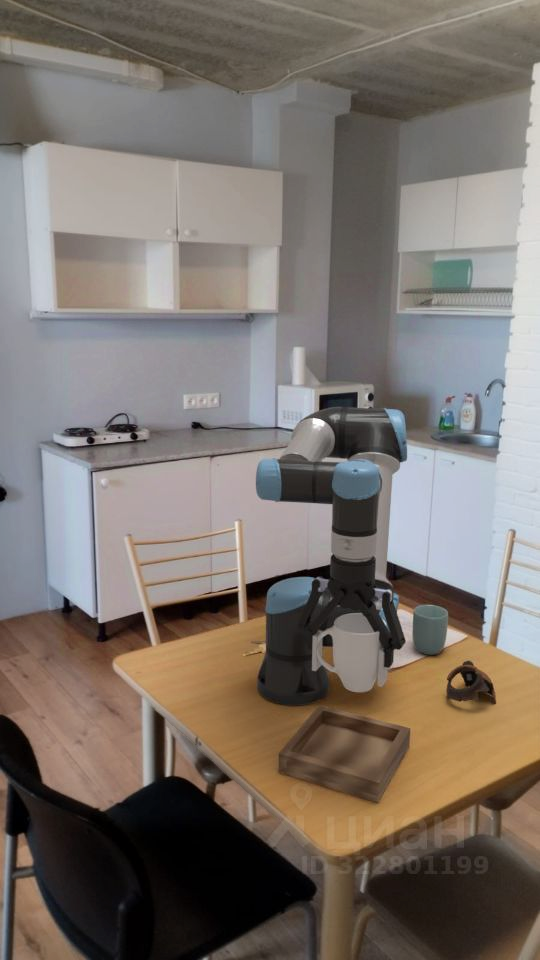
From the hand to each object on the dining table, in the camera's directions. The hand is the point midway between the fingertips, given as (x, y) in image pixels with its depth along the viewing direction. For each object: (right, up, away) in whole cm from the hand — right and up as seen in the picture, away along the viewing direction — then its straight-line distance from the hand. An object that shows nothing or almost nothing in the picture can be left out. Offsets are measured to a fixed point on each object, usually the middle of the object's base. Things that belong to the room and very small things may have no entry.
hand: (348, 675), depth 131 cm
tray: (0, -16, +4) cm, 16 cm away
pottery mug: (+28, -11, +25) cm, 39 cm away
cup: (+23, -6, +46) cm, 52 cm away
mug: (0, -2, +1) cm, 2 cm away
